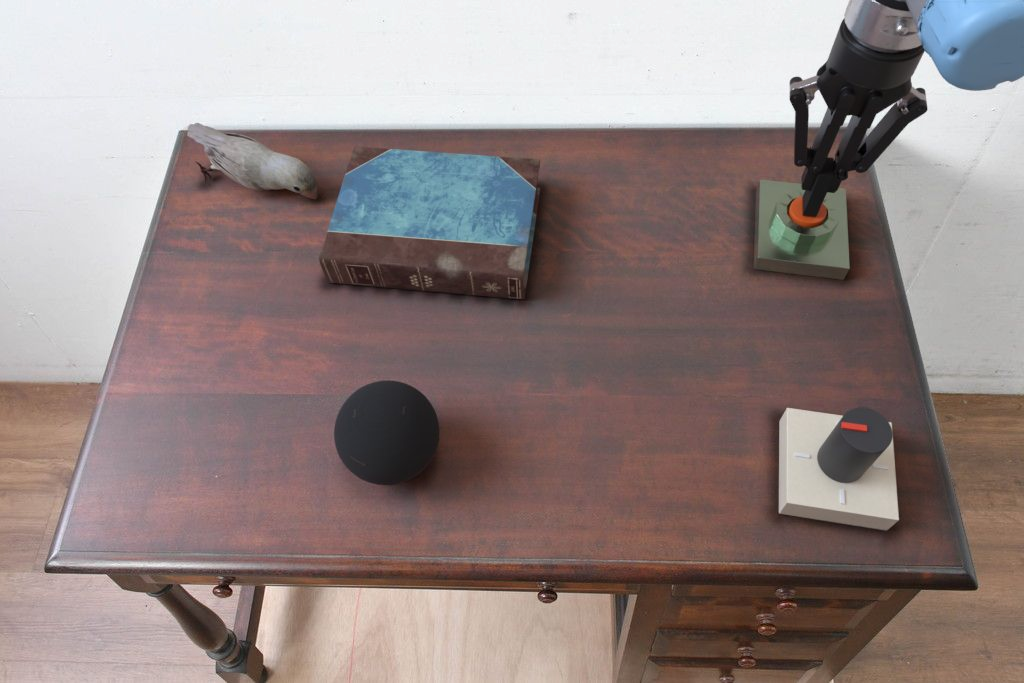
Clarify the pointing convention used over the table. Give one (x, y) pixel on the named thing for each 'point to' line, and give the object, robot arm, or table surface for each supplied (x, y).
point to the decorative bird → (252, 162)
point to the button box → (799, 234)
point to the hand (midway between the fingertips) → (809, 207)
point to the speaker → (386, 432)
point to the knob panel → (819, 494)
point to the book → (434, 222)
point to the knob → (854, 444)
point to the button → (805, 221)
